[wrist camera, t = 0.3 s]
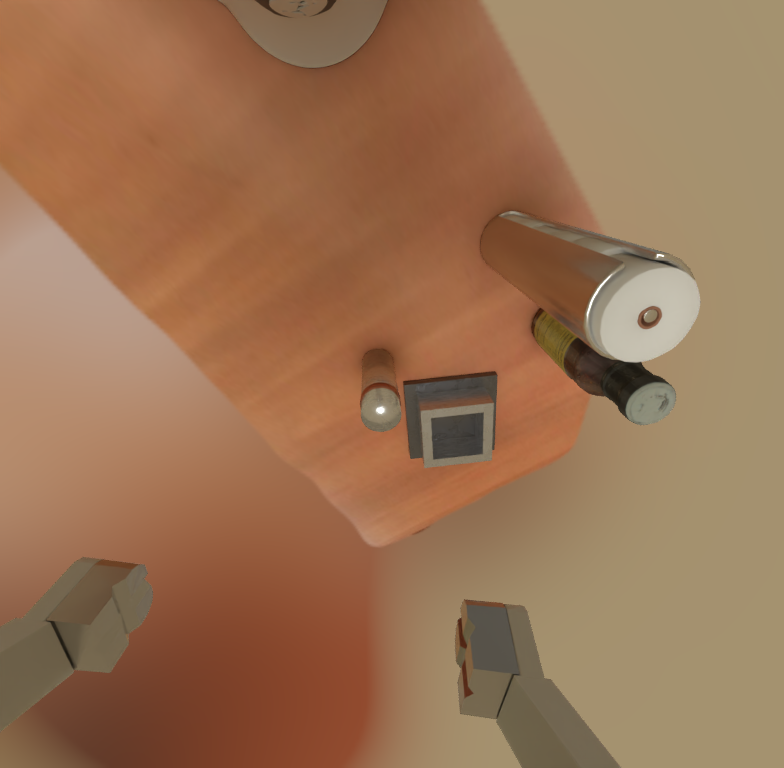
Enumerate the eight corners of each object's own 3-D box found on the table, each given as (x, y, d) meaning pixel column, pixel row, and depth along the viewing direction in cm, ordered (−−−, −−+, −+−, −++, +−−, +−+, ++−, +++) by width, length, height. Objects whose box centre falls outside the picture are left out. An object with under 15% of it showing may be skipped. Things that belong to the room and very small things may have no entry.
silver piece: (547, 218, 43) (735, 271, 21) (524, 277, 46) (668, 377, 24) (491, 203, 42) (629, 243, 20) (471, 264, 45) (573, 357, 23)
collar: (403, 381, 52) (406, 401, 47) (495, 371, 52) (507, 390, 47) (409, 454, 57) (413, 478, 53) (492, 445, 58) (502, 468, 53)
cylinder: (359, 349, 49) (357, 399, 39) (392, 346, 49) (400, 394, 39) (363, 379, 51) (363, 434, 41) (395, 376, 51) (403, 430, 41)
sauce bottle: (589, 315, 49) (714, 397, 31) (553, 354, 51) (651, 451, 34) (552, 286, 47) (663, 356, 29) (516, 328, 49) (599, 417, 32)
